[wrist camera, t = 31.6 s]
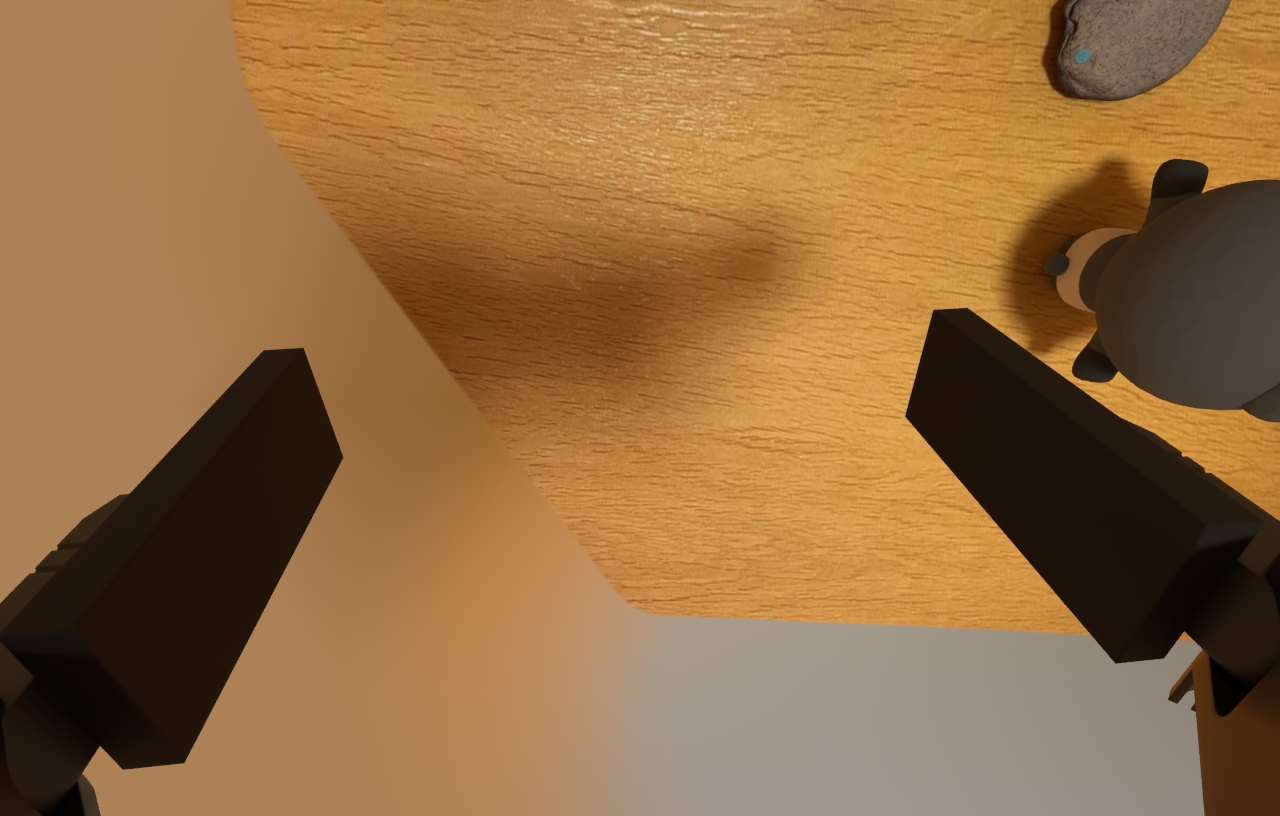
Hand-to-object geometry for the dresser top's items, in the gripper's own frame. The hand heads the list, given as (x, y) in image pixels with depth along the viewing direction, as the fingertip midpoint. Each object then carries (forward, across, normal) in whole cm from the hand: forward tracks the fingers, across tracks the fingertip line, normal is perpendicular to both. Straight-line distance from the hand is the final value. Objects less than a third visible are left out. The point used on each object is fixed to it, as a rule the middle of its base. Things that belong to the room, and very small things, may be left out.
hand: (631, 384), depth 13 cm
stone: (+23, +28, +6) cm, 37 cm away
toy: (+21, +28, -6) cm, 36 cm away
